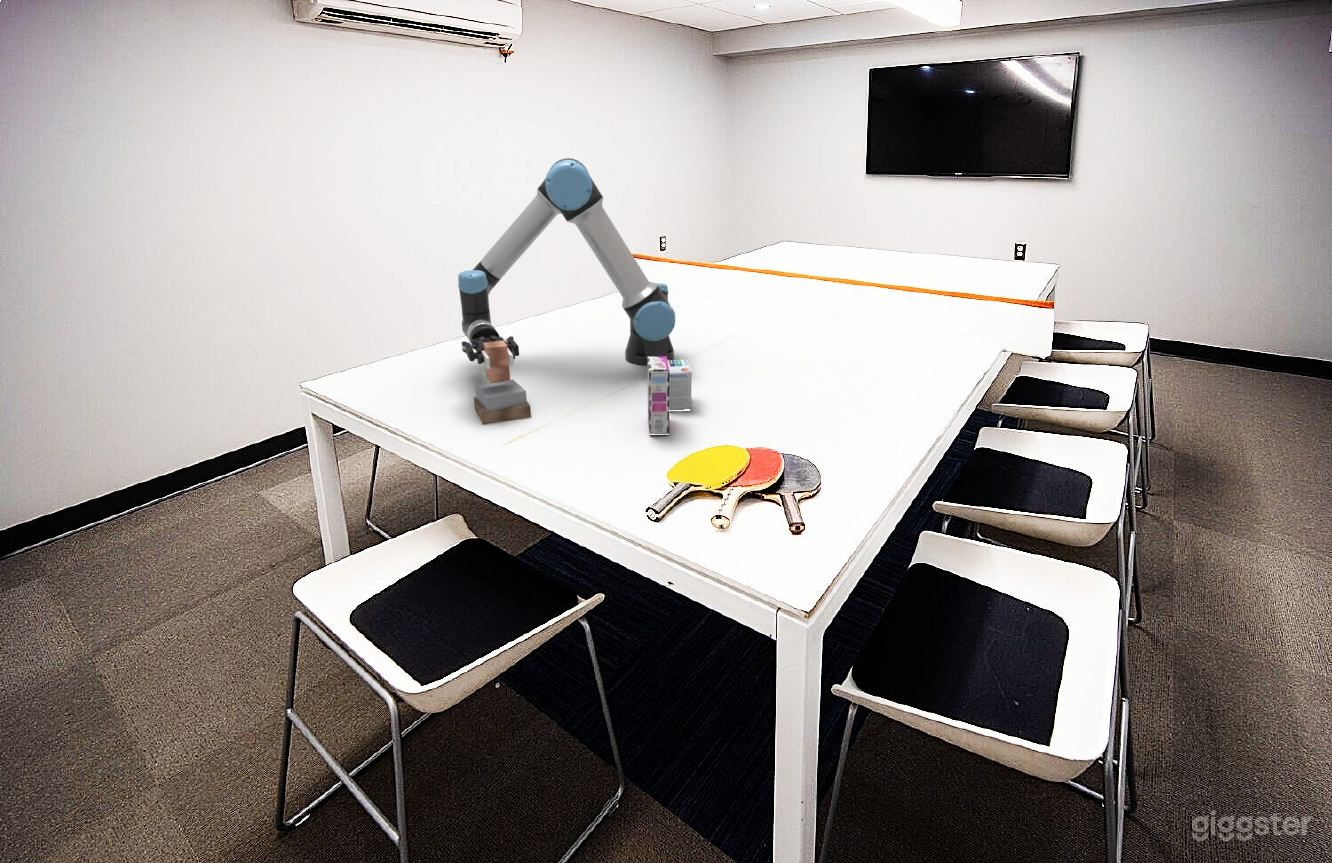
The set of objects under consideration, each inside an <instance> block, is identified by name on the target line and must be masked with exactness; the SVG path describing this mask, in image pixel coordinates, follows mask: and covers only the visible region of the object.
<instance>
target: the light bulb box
mask: <svg viewBox="0 0 1332 863" xmlns="http://www.w3.org/2000/svg"><path fill="white" fill-rule="evenodd" d="M667 361H668V366H669V370H670V371H669V410H684V409H691V410H692V381H693V379H692V378H693V376H692V374H693V372H692V369H691V365H690V363H689V360H688V359H686V358H685V359H673V360H667Z"/></svg>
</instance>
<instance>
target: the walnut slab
mask: <svg viewBox="0 0 1332 863" xmlns="http://www.w3.org/2000/svg"><path fill="white" fill-rule="evenodd" d="M473 403H474V409H475V411H476V412H477V416H478V417H479V420H480V421H481V423H482V425H489V424H495V422H496V423H501V421H502V422H507V421H508V422H509V421H513V420H515V421H516V420H521V419H526V418H532V412H531V411H532V410H531V404H530V403H529V402H528V401H527V404H524V405H519V406H513V407H508V408H503V409H498V410H493V411H487V410H486V409H485V408H484V407H483V405H482V404H481V403H480V402H479V401H478V400H477V398H476V396H473Z"/></svg>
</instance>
